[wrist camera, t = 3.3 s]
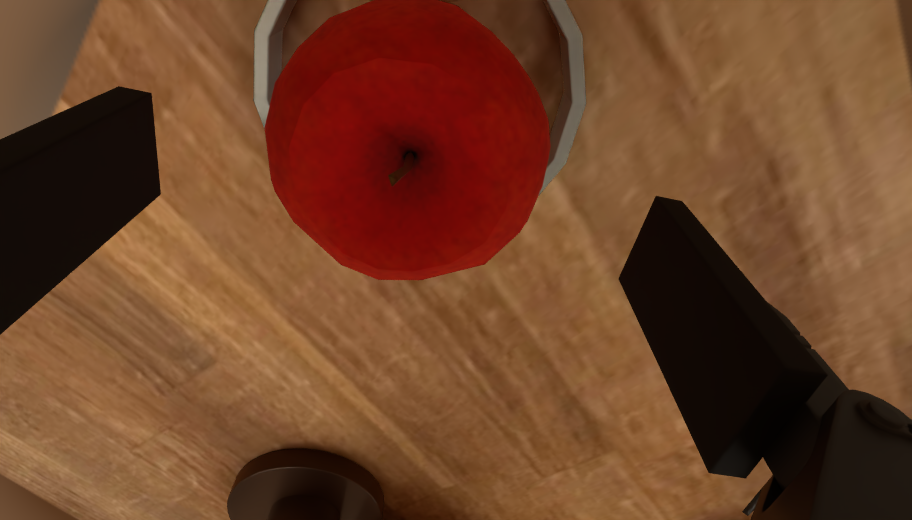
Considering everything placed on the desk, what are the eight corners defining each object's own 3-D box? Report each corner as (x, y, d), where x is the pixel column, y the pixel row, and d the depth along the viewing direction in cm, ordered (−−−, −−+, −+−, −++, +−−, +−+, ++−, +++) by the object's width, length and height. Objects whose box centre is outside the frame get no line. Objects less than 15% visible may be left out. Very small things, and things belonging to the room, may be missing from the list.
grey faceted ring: (264, 197, 26) (251, 215, 25) (272, -134, 19) (255, -141, 18) (526, 245, 28) (531, 265, 26) (621, -46, 21) (636, -44, 19)
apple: (555, 31, 22) (626, 97, 13) (476, 204, 27) (488, 347, 17) (353, -59, 21) (271, -54, 11) (303, 142, 25) (214, 264, 16)
